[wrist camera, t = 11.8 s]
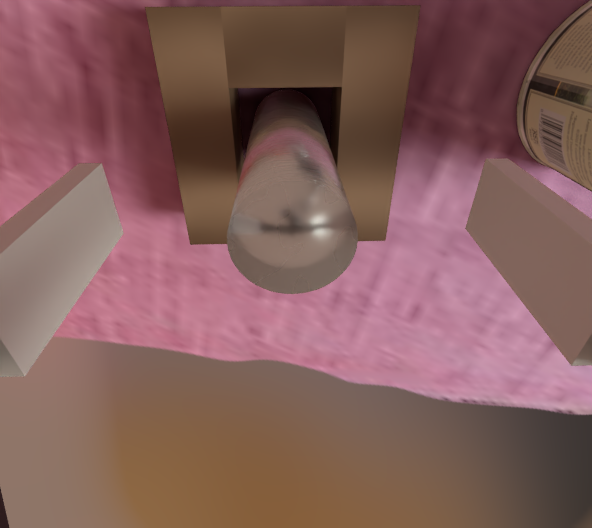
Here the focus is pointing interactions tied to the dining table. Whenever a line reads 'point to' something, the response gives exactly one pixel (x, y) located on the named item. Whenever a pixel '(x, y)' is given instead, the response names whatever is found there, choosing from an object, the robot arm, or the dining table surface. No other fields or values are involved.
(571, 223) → the robot arm
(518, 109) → the coffee can
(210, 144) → the hole block
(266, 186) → the long pin
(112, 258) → the dining table surface
